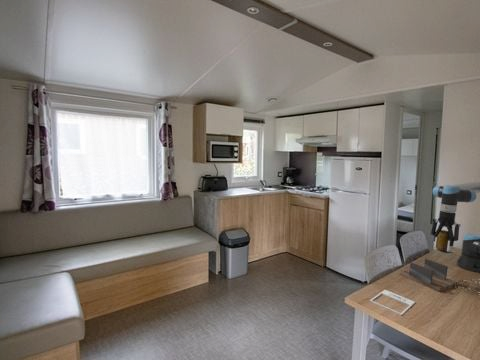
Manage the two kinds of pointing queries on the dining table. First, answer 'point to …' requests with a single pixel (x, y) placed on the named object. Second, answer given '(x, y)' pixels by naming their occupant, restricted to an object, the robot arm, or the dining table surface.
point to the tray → (429, 275)
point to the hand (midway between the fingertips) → (442, 249)
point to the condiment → (443, 242)
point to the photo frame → (396, 297)
